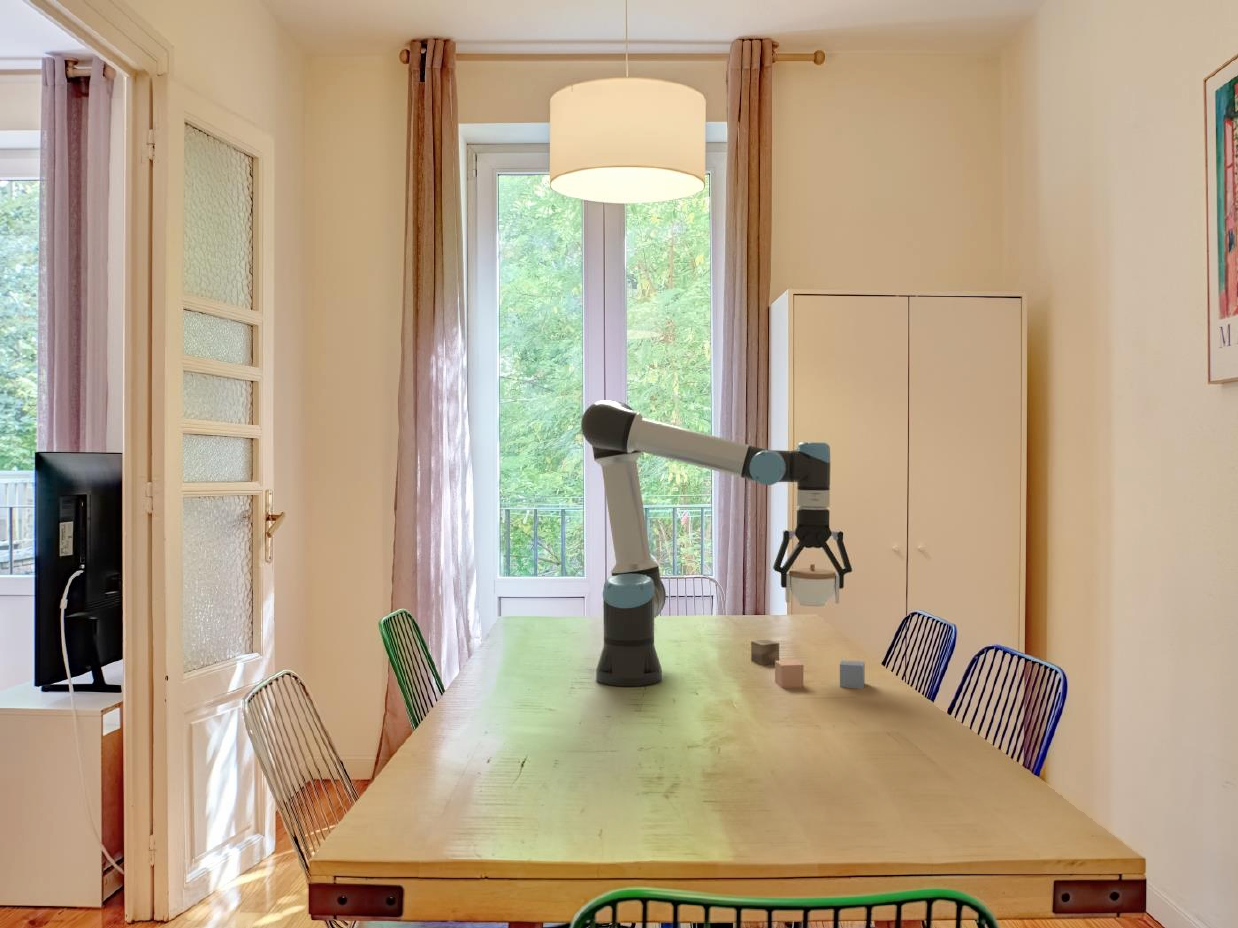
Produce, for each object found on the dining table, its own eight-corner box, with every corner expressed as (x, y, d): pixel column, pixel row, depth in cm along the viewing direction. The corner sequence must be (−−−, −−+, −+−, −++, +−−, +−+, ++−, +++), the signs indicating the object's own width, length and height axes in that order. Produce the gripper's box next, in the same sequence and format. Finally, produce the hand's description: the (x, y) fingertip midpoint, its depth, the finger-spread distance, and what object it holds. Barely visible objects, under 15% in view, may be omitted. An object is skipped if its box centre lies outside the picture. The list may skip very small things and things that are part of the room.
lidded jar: (822, 609, 223) (823, 568, 223) (780, 604, 230) (781, 564, 229) (842, 603, 232) (843, 564, 231) (801, 599, 238) (802, 560, 238)
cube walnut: (761, 665, 240) (761, 644, 240) (751, 661, 245) (751, 641, 245) (779, 663, 242) (779, 643, 242) (768, 659, 247) (768, 639, 246)
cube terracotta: (781, 687, 217) (781, 665, 217) (775, 682, 222) (775, 660, 222) (803, 687, 218) (803, 664, 218) (796, 681, 223) (796, 659, 223)
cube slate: (839, 687, 218) (839, 664, 218) (841, 681, 223) (841, 659, 223) (863, 688, 216) (863, 666, 216) (864, 683, 221) (864, 661, 221)
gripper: (765, 508, 227) (763, 603, 227) (866, 509, 226) (865, 605, 226) (761, 506, 234) (760, 598, 235) (860, 507, 233) (858, 600, 234)
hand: (811, 602), depth 231 cm, fingers closed on lidded jar, 11 cm apart
